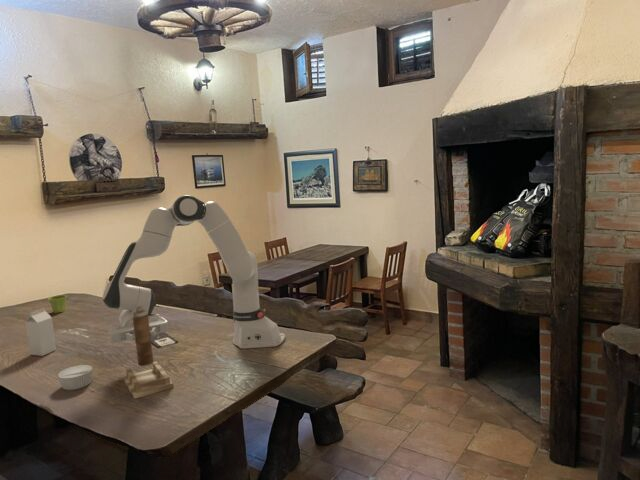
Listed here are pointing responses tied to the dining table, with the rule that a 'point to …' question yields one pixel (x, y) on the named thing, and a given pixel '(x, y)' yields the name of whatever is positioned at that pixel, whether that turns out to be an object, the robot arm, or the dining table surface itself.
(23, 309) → the dining table surface
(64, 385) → the ramekin
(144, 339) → the pepper mill
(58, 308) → the plant pot
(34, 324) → the milk carton
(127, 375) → the rack
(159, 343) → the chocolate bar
